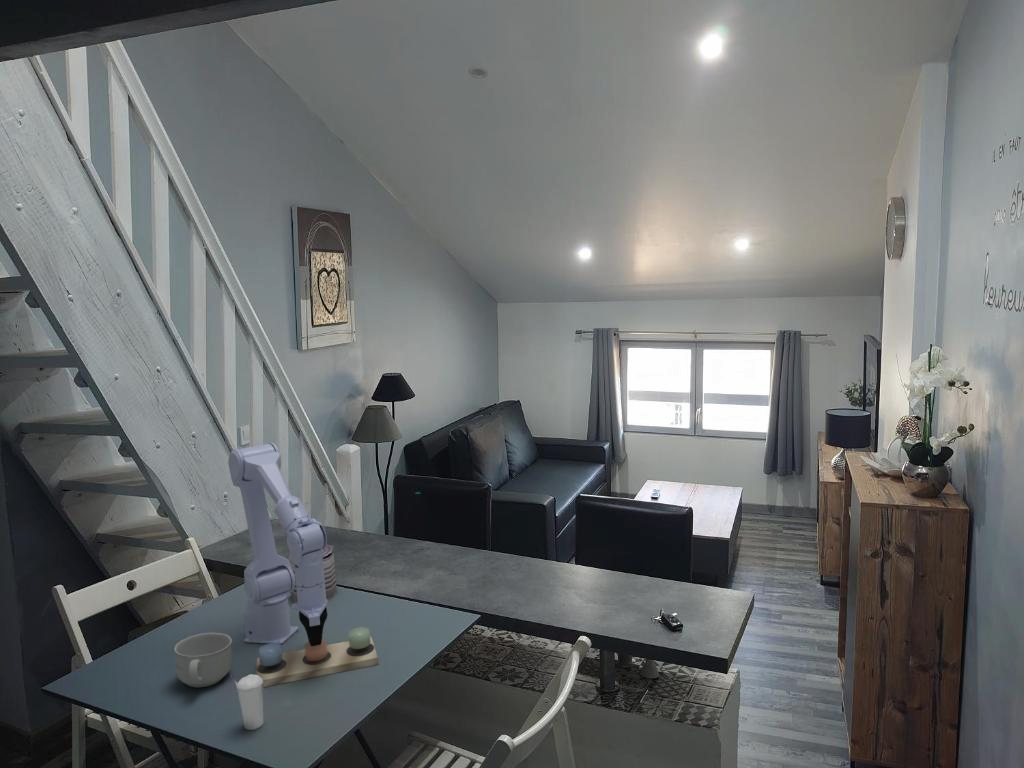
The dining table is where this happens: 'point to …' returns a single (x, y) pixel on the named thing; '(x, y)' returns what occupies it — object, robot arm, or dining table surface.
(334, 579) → the can
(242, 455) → the robot arm
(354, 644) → the sage button
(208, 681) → the teacup
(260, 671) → the button panel
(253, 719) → the milkshake
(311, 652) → the terracotta button
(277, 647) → the slate button
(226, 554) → the dining table surface
